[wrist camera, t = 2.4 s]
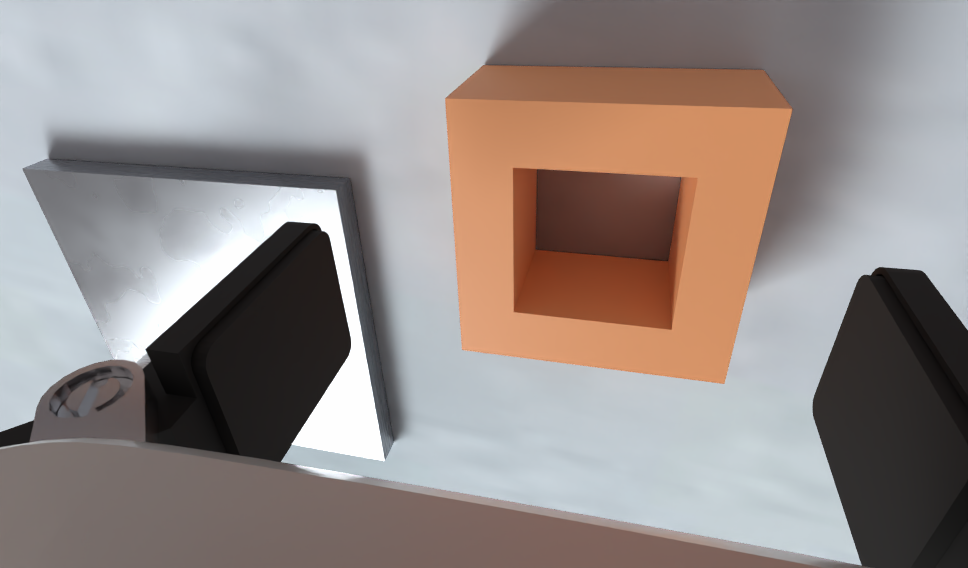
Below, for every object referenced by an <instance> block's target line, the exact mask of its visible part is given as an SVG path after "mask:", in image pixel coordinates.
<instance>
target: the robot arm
mask: <svg viewBox="0 0 968 568" xmlns="http://www.w3.org/2000/svg"><path fill="white" fill-rule="evenodd" d="M351 344H352V341H351V335H350V330H349V326H348V321H347V316H346V311H345V307H344V302H343V297H342V292H341V288H340V283H339V278H338V274H337V269H336V264H335V259H334V255H333V250H332V245H331V240H330V237H329V235H328V233H327V232H325V231H322V229H321V228H320V226H319V225H318V224H316V223H304V222H286V223H284V224H283V225H282V226H281V227H280V228H279V229H278V230H277V231H275V232H274V233H273V234H272V235H271V236H270V237H269V238H268V239H267V240H265V241H264V242H263V243H262V244H261V245H260V246H259V247H258V248H257V249H255V250H254V251H253V252H252V253H251V254H250V255H249V256H248V257H247V258H245V259H244V260H243V261H242V262H241V263H240V264H239V265H238V266H237V267H236V268H234V269H233V270H232V271H231V272H230V273H229V274H228V275H227V276H226V277H224V278H223V279H222V280H221V281H220V282H219V283H218V284H217V285H216V286H214V287H213V288H212V289H211V290H210V291H209V292H208V293H207V294H206V295H204V296H203V297H202V298H201V299H200V300H199V301H198V302H197V303H196V304H194V305H193V306H192V307H191V308H190V309H189V310H188V311H187V312H186V313H185V314H183V315H182V316H181V317H180V318H179V319H178V320H177V321H176V322H175V323H173V324H172V325H171V326H170V327H169V328H168V329H167V330H166V331H165V332H163V333H162V334H161V335H160V336H159V337H158V338H157V339H156V340H155V341H153V342H152V343H151V344H150V345H149V346H148V347H147V348H146V349H145V350H146V352H147V354H148V356H149V358H150V361H151V362H150V363H149V364H148V365H146V366H145V367H144V368H143V369H142V367H141V366H139V365H138V364H137V363H135V362H132V361H128V360H108V361H103V362H98V363H94V364H91V365H89V366H86V367H83V368H81V369H78V370H76V371H74V372H72V373H71V374H69V375H67V376H65V377H63V378H62V379H61V380H59V381H58V382H57V383H55V384H54V385H53V386H51V387H50V388H49V389H48V390H47V392H46V393H45V394H44V395H43V396H42V397H41V399H40V401H39V404H38V406H37V409H36V413H35V418H34V420H33V421H31V422H28V423H25V424H22V425H19V426H16V427H14V428H11V429H8V430H5V431H2V432H0V568H968V330H967V329H966V328H965V326H964V325H963V324H962V322H961V321H960V320H959V318H958V317H957V316H956V314H955V313H954V312H953V310H952V309H951V308H950V306H949V305H948V304H947V302H946V301H945V300H944V298H943V297H942V296H941V294H940V293H939V292H938V290H937V289H936V287H935V286H934V285H933V283H932V282H931V281H930V279H929V278H928V277H927V275H926V274H925V273H924V272H922V271H920V270H909V269H897V268H884V267H879V268H877V269H875V271H874V272H873V273H872V275H863V276H861V278H860V279H859V280H858V282H857V285H856V287H855V290H854V292H853V295H852V298H851V300H850V303H849V306H848V308H847V311H846V314H845V316H844V319H843V321H842V324H841V327H840V329H839V332H838V335H837V337H836V340H835V342H834V345H833V348H832V350H831V353H830V356H829V358H828V361H827V364H826V366H825V369H824V371H823V374H822V377H821V379H820V382H819V385H818V387H817V390H816V392H815V395H814V399H813V416H814V420H815V423H816V426H817V429H818V432H819V435H820V438H821V442H822V445H823V448H824V451H825V454H826V457H827V460H828V463H829V466H830V469H831V472H832V475H833V478H834V481H835V485H836V488H837V491H838V494H839V497H840V500H841V503H842V506H843V509H844V512H845V515H846V518H847V521H848V524H849V527H850V531H851V534H852V537H853V540H854V543H855V546H856V549H857V552H858V555H859V558H860V561H861V564H862V566H860V565H855V564H850V563H845V562H839V561H834V560H829V559H824V558H819V557H814V556H809V555H804V554H799V553H793V552H788V551H783V550H777V549H772V548H766V547H761V546H755V545H750V544H744V543H738V542H733V541H727V540H722V539H716V538H711V537H705V536H700V535H694V534H689V533H683V532H678V531H672V530H666V529H661V528H655V527H650V526H644V525H639V524H633V523H628V522H622V521H617V520H611V519H606V518H600V517H594V516H589V515H583V514H577V513H572V512H566V511H560V510H555V509H549V508H543V507H538V506H532V505H526V504H520V503H515V502H509V501H503V500H498V499H492V498H486V497H481V496H475V495H469V494H463V493H458V492H452V491H446V490H440V489H435V488H429V487H423V486H417V485H412V484H406V483H400V482H394V481H388V480H382V479H377V478H371V477H365V476H359V475H353V474H347V473H341V472H335V471H329V470H323V469H318V468H312V467H306V466H300V465H294V464H288V463H282V462H281V461H282V459H283V457H284V456H285V454H286V453H287V451H288V450H289V448H290V447H291V445H292V443H293V442H294V440H295V439H296V437H297V436H298V434H299V433H300V431H301V430H302V428H303V426H304V425H305V423H306V422H307V420H308V419H309V417H310V416H311V414H312V413H313V411H314V409H315V408H316V406H317V405H318V403H319V402H320V400H321V399H322V397H323V395H324V394H325V392H326V391H327V389H328V388H329V386H330V385H331V383H332V382H333V380H334V378H335V377H336V375H337V374H338V372H339V371H340V369H341V368H342V366H343V365H344V363H345V361H346V360H347V358H348V356H349V354H350V351H351Z"/></svg>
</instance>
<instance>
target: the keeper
mask: <svg viewBox="0 0 968 568" xmlns="http://www.w3.org/2000/svg"><path fill="white" fill-rule="evenodd" d="M23 171H24V173H25V175H26V177H27V180H28V182H29V184H30V186H31V188H32V190H33V192H34V194H35V196H36V198H37V200H38V202H39V205H40V207H41V209H42V211H43V213H44V215H45V217H46V219H47V221H48V223H49V225H50V228H51V230H52V232H53V234H54V236H55V238H56V240H57V242H58V244H59V246H60V248H61V251H62V253H63V255H64V257H65V259H66V261H67V263H68V265H69V267H70V269H71V271H72V273H73V276H74V278H75V280H76V282H77V284H78V286H79V288H80V290H81V292H82V294H83V296H84V299H85V301H86V303H87V305H88V307H89V309H90V311H91V313H92V315H93V317H94V319H95V321H96V324H97V326H98V328H99V330H100V332H101V334H102V336H103V338H104V340H105V342H106V344H107V347H108V349H109V351H110V353H111V355H112V357H113V359H114V360H128V361H132V362H135V363H137V364H138V365H139V366H141V367H142V369H143V368H144V367H145V366H146V365H148V364H149V363H150V362H151V361H150V358H149V356H148V354H147V352H146V350H145V349H146V348H147V347H148V346H149V345H150V344H151V343H152V342H153V341H155V340H156V339H157V338H158V337H159V336H160V335H161V334H162V333H163V332H165V331H166V330H167V329H168V328H169V327H170V326H171V325H172V324H173V323H175V322H176V321H177V320H178V319H179V318H180V317H181V316H182V315H183V314H185V313H186V312H187V311H188V310H189V309H190V308H191V307H192V306H193V305H194V304H196V303H197V302H198V301H199V300H200V299H201V298H202V297H203V296H204V295H206V294H207V293H208V292H209V291H210V290H211V289H212V288H213V287H214V286H216V285H217V284H218V283H219V282H220V281H221V280H222V279H223V278H224V277H226V276H227V275H228V274H229V273H230V272H231V271H232V270H233V269H234V268H236V267H237V266H238V265H239V264H240V263H241V262H242V261H243V260H244V259H245V258H247V257H248V256H249V255H250V254H251V253H252V252H253V251H254V250H255V249H257V248H258V247H259V246H260V245H261V244H262V243H263V242H264V241H265V240H267V239H268V238H269V237H270V236H271V235H272V234H273V233H274V232H275V231H277V230H278V229H279V228H280V227H281V226H282V225H283V224H284V223H286V222H304V223H316V224H318V225H319V226H320V228H321V229H322V231H325V232H327V233H328V235H329V237H330V240H331V245H332V250H333V255H334V259H335V264H336V269H337V274H338V278H339V283H340V288H341V292H342V297H343V302H344V307H345V311H346V316H347V321H348V326H349V330H350V335H351V341H352V344H351V351H350V354H349V356H348V358H347V360H346V361H345V363H344V365H343V366H342V368H341V369H340V371H339V372H338V374H337V375H336V377H335V378H334V380H333V382H332V383H331V385H330V386H329V388H328V389H327V391H326V392H325V394H324V395H323V397H322V399H321V400H320V402H319V403H318V405H317V406H316V408H315V409H314V411H313V413H312V414H311V416H310V417H309V419H308V420H307V422H306V423H305V425H304V426H303V428H302V430H301V431H300V433H299V434H298V436H297V437H296V439H295V440H294V442H293V443H292V444H293V445H298V446H304V447H309V448H315V449H320V450H326V451H332V452H337V453H343V454H348V455H354V456H360V457H365V458H371V459H376V460H382V461H385V459H386V457H387V455H388V453H389V451H390V449H391V447H392V445H393V437H392V431H391V425H390V418H389V412H388V406H387V400H386V394H385V388H384V382H383V376H382V370H381V364H380V358H379V352H378V346H377V340H376V334H375V328H374V321H373V315H372V309H371V303H370V297H369V291H368V285H367V279H366V273H365V267H364V261H363V255H362V249H361V243H360V237H359V231H358V224H357V218H356V212H355V206H354V200H353V194H352V188H351V182H350V178H337V177H321V176H305V175H290V174H274V173H259V172H243V171H228V170H212V169H196V168H181V167H165V166H150V165H134V164H119V163H103V162H87V161H72V160H56V159H45V160H43V161H40V162H38V163H35V164H33V165H30V166H28V167H25V168H23Z"/></svg>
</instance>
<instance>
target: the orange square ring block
mask: <svg viewBox="0 0 968 568" xmlns="http://www.w3.org/2000/svg"><path fill="white" fill-rule="evenodd" d="M445 103H446V118H447V133H448V147H449V162H450V177H451V192H452V207H453V222H454V237H455V252H456V267H457V281H458V296H459V311H460V326H461V341H462V350H467V351H475V352H482V353H490V354H498V355H505V356H513V357H521V358H529V359H536V360H544V361H552V362H560V363H567V364H575V365H583V366H590V367H598V368H606V369H614V370H621V371H629V372H637V373H645V374H652V375H660V376H668V377H675V378H683V379H691V380H699V381H706V382H714V383H722V384H724V383H725V379H726V375H727V371H728V367H729V363H730V359H731V355H732V351H733V347H734V343H735V339H736V334H737V330H738V326H739V322H740V318H741V314H742V310H743V306H744V302H745V298H746V294H747V290H748V286H749V282H750V278H751V274H752V270H753V266H754V262H755V258H756V254H757V250H758V246H759V242H760V238H761V234H762V230H763V226H764V222H765V218H766V214H767V210H768V206H769V202H770V198H771V194H772V190H773V186H774V182H775V178H776V174H777V170H778V166H779V162H780V158H781V154H782V150H783V146H784V142H785V137H786V133H787V129H788V125H789V121H790V117H791V113H792V107H791V106H790V105H789V103H788V102H787V101H786V99H785V98H784V97H783V95H782V94H781V93H780V91H779V90H778V89H777V87H776V86H775V85H774V83H773V82H772V80H771V79H770V78H769V76H768V75H767V74H766V72H765V71H764V70H745V69H684V68H623V67H562V66H501V65H483V66H482V67H481V68H480V69H479V70H477V71H476V72H475V73H474V74H473V75H472V76H470V77H469V78H468V79H467V80H466V81H465V82H464V83H462V84H461V85H460V86H459V87H458V88H457V89H456V90H454V91H453V92H452V93H451V94H450V95H449V96H447V97H446V98H445ZM537 169H547V170H565V171H583V172H601V173H619V174H636V175H654V176H672V177H681V183H680V189H679V196H678V202H677V208H676V215H675V221H674V228H673V234H672V240H671V247H670V253H669V259H668V261H659V260H648V259H636V258H625V257H613V256H602V255H590V254H579V253H567V252H556V251H544V250H536V197H537Z"/></svg>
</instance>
